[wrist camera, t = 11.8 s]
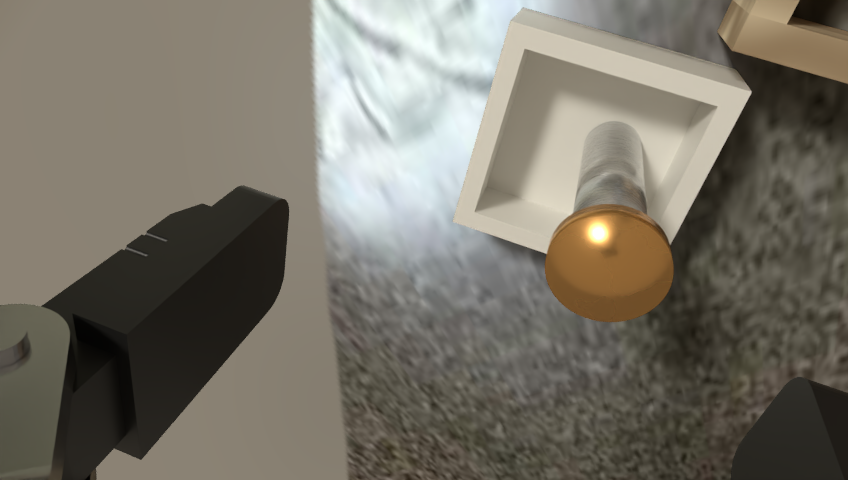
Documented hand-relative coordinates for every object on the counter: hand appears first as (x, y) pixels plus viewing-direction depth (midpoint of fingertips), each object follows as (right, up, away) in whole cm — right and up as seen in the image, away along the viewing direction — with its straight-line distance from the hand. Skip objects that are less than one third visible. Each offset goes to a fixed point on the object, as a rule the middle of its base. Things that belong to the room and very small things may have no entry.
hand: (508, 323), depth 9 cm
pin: (+9, +6, +23) cm, 25 cm away
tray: (+8, +7, +24) cm, 26 cm away
